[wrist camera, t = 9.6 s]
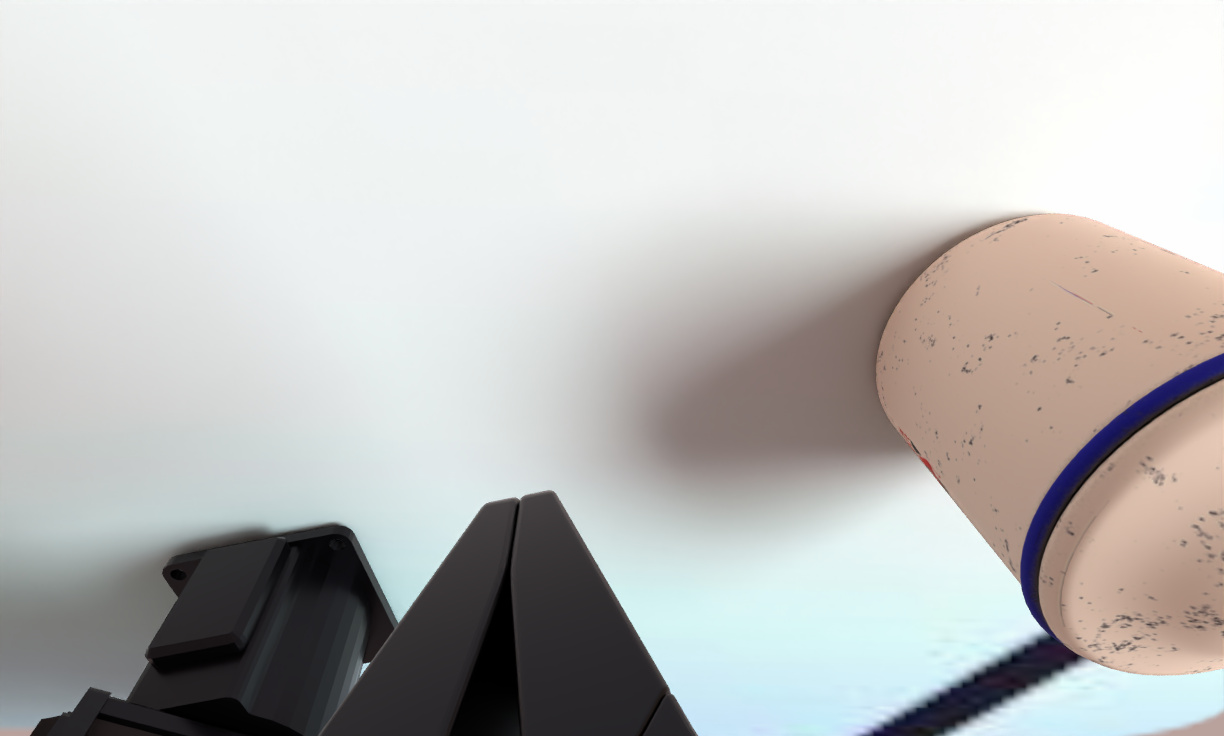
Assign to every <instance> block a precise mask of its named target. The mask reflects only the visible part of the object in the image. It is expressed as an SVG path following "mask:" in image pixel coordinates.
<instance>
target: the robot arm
mask: <svg viewBox="0 0 1224 736" xmlns="http://www.w3.org/2000/svg"><path fill="white" fill-rule="evenodd" d="M334 539H339V540H341V541H343V542H338V541H335V540H334ZM181 570H182V571H181ZM162 574H163V576H164V578H165V580H166V581H167V582H168V584H169V585H170V587H171V588H172V589H173V591H174V592H175V594H176V595H177V596H178V599H177V601H176V603H175V604H174V606H173V608H172V609H171V611H170V612H169V614H168V616H167V617H166V619H165V621H164V622H163V624H162V626H161V627H160V629H159V631H158V632H157V634H156V636H155V637H154V639H153V641H152V642H151V644H150V646H149V647H148V649H147V651H146V654H145V657H146V658H147V660H148V661H149V663H148V665H147V666H146V668H145V670H144V672H143V673H142V675H141V677H140V678H139V680H138V682H137V683H136V685H135V687H134V688H133V690H132V692H131V694H130V695H129V697H128V699H127V700H126V701H125V700H121V699H117V698H114V697H110V695H111V693H110V692H107V691H103V690H99V689H96V688H92V687H90V688H89V689H88V691H87V692H86V694H85V695H84V696H83V698H82V699H81V701H80V702H79V704H78V705H77V706H76V708H75V709H74V711H73V712H68V713H64V712H63V713H62V715H61V716H56V717H51V718H46V719H41V721H40V722H39V724H38V725H37V726H36V728H35V729H34V731H33V732H32V734H31V735H30V736H698V735H697V734H696V732H695V730H694V729H693V727H692V726H691V724H690V722H689V721H688V719H687V717H686V715H685V714H684V712H683V710H682V709H681V707H680V705H679V703H678V702H677V700H676V698H675V697H674V695H672V694H671V693H670V689H669V687H668V685H667V684H666V682H665V680H664V678H663V677H662V675H661V673H660V671H659V670H658V668H657V666H656V665H655V663H654V661H653V659H652V658H651V656H650V654H649V653H648V651H647V649H646V647H645V646H644V644H643V642H642V641H641V639H640V637H639V635H638V634H637V632H636V630H635V629H634V627H633V625H632V623H631V622H630V620H629V618H628V617H627V615H626V613H625V611H624V610H623V608H622V606H621V604H620V603H619V601H618V599H617V598H616V596H615V594H614V592H613V591H612V589H611V587H610V586H609V584H608V582H607V580H606V579H605V577H604V575H603V574H602V572H601V570H600V568H599V567H598V565H597V563H596V562H595V560H594V558H593V556H592V555H591V553H590V551H589V550H588V548H587V546H586V544H585V543H584V541H583V539H582V537H581V536H580V534H579V532H578V531H577V529H576V527H575V525H574V524H573V522H572V520H571V519H570V517H569V515H568V513H567V512H566V510H565V508H564V507H563V505H562V503H561V501H560V500H559V498H558V496H557V495H556V493H555V492H554V491H551V490H548V491H543V492H538V493H533V494H528V495H525V496H523V497H522V498H521V499H520V500H519V499H517V498H508V499H503V500H498V501H493V502H489V503H486V504H485V505H484V506H483V507H482V508H481V509H480V511H479V512H478V514H477V515H476V516H475V518H474V519H473V521H472V522H471V523H470V525H469V526H468V527H467V529H466V530H465V532H464V533H463V534H462V536H461V537H460V539H459V540H458V541H457V543H456V544H455V546H454V547H453V548H452V550H451V551H450V553H449V554H448V555H447V557H446V558H445V560H444V561H443V562H442V564H441V565H440V567H439V568H438V569H437V571H436V572H435V573H434V575H433V576H432V578H431V579H430V580H429V582H428V583H427V585H426V586H425V587H424V589H423V590H422V592H421V593H420V594H419V596H418V597H417V599H416V600H415V601H414V603H413V604H412V606H411V607H410V608H409V610H408V611H407V613H406V614H405V615H404V617H403V618H402V620H401V621H400V622H399V624H398V622H397V620H396V618H395V616H394V614H393V612H392V610H391V607H390V605H389V603H388V601H387V599H386V597H385V595H384V593H383V591H382V589H381V587H380V585H379V583H378V581H377V579H376V577H375V575H374V573H373V571H372V569H371V567H370V565H369V562H368V560H367V558H366V556H365V554H364V552H363V550H362V548H361V546H360V544H359V542H358V540H357V538H356V536H355V534H354V533H353V531H352V530H351V529H349V528H347V527H345V526H331V527H326V528H321V529H315V530H310V531H305V532H299V533H294V534H289V535H284V536H278V537H273V538H268V539H263V540H257V541H252V542H247V543H241V544H236V545H231V546H226V547H220V548H215V549H210V550H205V551H199V552H194V553H189V554H183V555H178V556H175V557H172V558H171V559H170V560H169V561H168V563H167V564H166V566H165V567H164V569H163V572H162ZM369 662H371V663H370V664H369V666H368V667H367V668H366V670H365V671H364V672H363V674H362V675H361V677H360V673H361V670H362V666H363V664H364V663H369ZM359 677H360V678H359Z"/></svg>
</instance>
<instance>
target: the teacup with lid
mask: <svg viewBox="0 0 1224 736" xmlns="http://www.w3.org/2000/svg"><path fill="white" fill-rule="evenodd" d="M876 383H877V391H878V395H879V399H880V402H881V404H882V407H883V409H884V411H885V413H886V415H887V417H888V419H889V420H890V422H891V423H892V424H893V426H894V427H895V428H896V430H897V431H898V432H899V433H900V435H901V436H902V437H903V438H904V439H905V441H906V442H907V443H908V444H909V446H910V447H911V448H912V449H913V451H914V452H915V453H916V454H917V456H918V457H919V458H920V459H921V461H922V462H923V463H924V464H925V466H926V467H927V468H928V469H929V471H930V472H931V473H932V474H933V476H934V477H935V478H936V479H937V481H938V482H939V483H940V484H941V486H942V487H943V488H944V489H945V491H946V492H947V493H948V494H949V496H950V497H951V498H952V499H953V501H954V502H955V503H956V504H957V506H958V507H959V508H960V509H961V510H962V512H963V513H964V514H965V515H966V517H967V518H968V519H969V520H970V522H971V523H972V524H973V525H974V527H975V528H976V529H977V530H978V532H979V533H980V534H981V535H982V537H983V538H984V539H985V540H986V542H987V543H988V544H989V545H990V547H991V548H992V549H993V550H994V552H995V553H996V554H997V555H998V557H999V558H1000V559H1001V560H1002V562H1003V563H1004V564H1005V565H1006V567H1007V568H1008V569H1009V570H1010V572H1011V573H1012V574H1013V575H1014V576H1015V578H1016V579H1017V580H1018V581H1019V583H1020V584H1021V587H1022V592H1023V595H1024V598H1025V602H1026V604H1027V606H1028V608H1029V610H1030V612H1031V614H1032V615H1033V617H1034V618H1035V619H1036V621H1037V622H1038V623H1039V625H1040V626H1041V627H1042V628H1043V629H1044V630H1045V631H1046V632H1047V633H1048V634H1049V635H1050V636H1052V637H1053V638H1055V639H1056V640H1058V641H1059V642H1060V643H1062V644H1064V645H1066V646H1067V647H1068V648H1070V649H1071V650H1072V651H1074V652H1075V653H1077V654H1079V655H1081V656H1083V657H1085V658H1086V659H1089V660H1091V661H1093V662H1095V663H1097V664H1100V665H1103V666H1106V667H1108V668H1111V669H1115V670H1119V671H1124V672H1128V673H1135V674H1142V675H1184V674H1194V673H1201V672H1208V671H1213V670H1218V669H1223V668H1224V274H1223V273H1221V272H1218V271H1216V270H1214V269H1211V268H1209V267H1206V266H1204V265H1202V264H1199V263H1197V262H1194V261H1192V260H1190V259H1187V258H1185V257H1182V256H1180V255H1178V254H1175V253H1173V252H1170V251H1168V250H1166V249H1163V248H1161V247H1158V246H1156V245H1154V244H1151V243H1149V242H1146V241H1144V240H1142V239H1139V238H1137V237H1134V236H1132V235H1130V234H1127V233H1125V232H1122V231H1120V230H1118V229H1115V228H1113V227H1110V226H1108V225H1105V224H1103V223H1101V222H1098V221H1095V220H1092V219H1089V218H1085V217H1080V216H1075V215H1068V214H1040V215H1033V216H1026V217H1021V218H1017V219H1012V220H1009V221H1006V222H1003V223H1000V224H997V225H994V226H992V227H989V228H987V229H985V230H982V231H980V232H978V233H976V234H974V235H972V236H970V237H969V238H967V239H965V240H964V241H962V242H960V243H959V244H957V245H956V246H954V247H953V248H951V249H950V250H949V251H947V252H946V253H944V254H943V255H942V256H941V257H939V258H938V259H937V260H936V261H935V262H933V263H932V264H931V265H930V266H929V267H928V268H927V269H926V270H925V271H924V272H923V273H922V274H921V275H920V276H919V277H918V278H917V279H916V280H915V282H914V283H913V284H912V285H911V286H910V287H909V289H908V290H907V291H906V293H905V294H904V295H903V297H902V298H901V300H900V301H899V303H898V304H897V306H896V307H895V309H894V311H893V313H892V315H891V317H890V318H889V320H888V323H887V325H886V327H885V330H884V332H883V335H882V338H881V341H880V345H879V350H878V354H877V362H876Z"/></svg>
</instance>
